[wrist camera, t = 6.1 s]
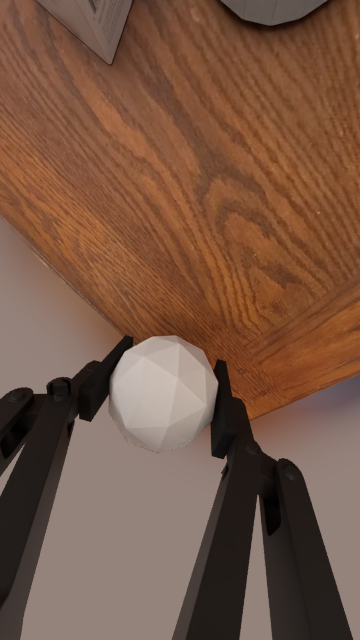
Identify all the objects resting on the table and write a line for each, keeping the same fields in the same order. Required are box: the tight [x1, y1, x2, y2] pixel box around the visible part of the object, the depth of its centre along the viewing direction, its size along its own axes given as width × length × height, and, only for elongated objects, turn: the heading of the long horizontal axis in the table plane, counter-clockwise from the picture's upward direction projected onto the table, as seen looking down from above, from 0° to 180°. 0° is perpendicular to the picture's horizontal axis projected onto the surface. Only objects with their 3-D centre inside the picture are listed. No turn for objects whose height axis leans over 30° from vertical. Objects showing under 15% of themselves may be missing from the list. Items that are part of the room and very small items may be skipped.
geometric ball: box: [109, 335, 218, 453], centre depth 13 cm, size 8×8×8 cm
